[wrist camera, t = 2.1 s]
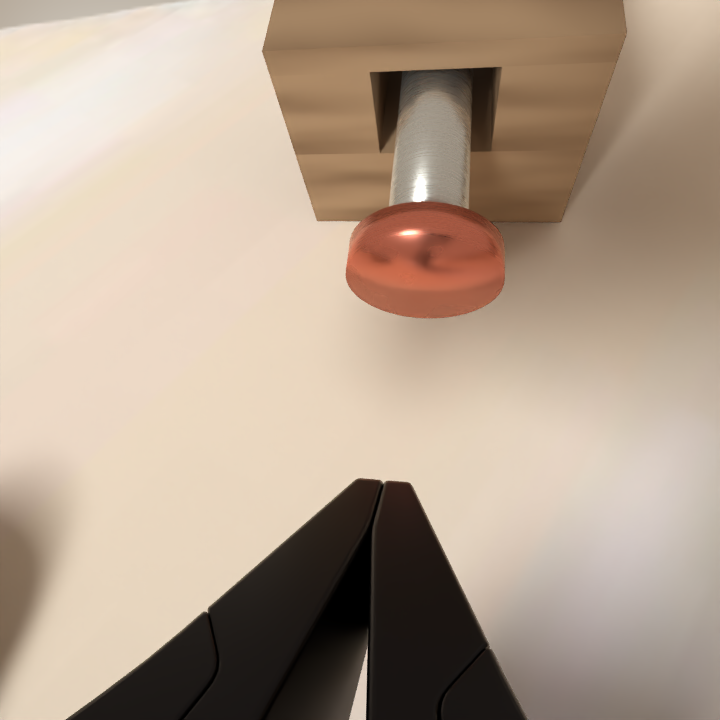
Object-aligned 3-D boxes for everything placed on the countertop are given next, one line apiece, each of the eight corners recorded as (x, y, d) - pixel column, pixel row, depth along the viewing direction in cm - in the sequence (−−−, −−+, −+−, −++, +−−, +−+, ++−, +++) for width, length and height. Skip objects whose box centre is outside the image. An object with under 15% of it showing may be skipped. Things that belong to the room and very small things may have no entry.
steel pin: (495, 320, 19) (515, 236, 15) (356, 315, 20) (332, 234, 16) (497, 24, 25) (512, -104, 21) (390, 30, 26) (381, -92, 22)
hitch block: (560, 221, 25) (626, 33, 17) (317, 220, 27) (262, 51, 18) (554, 98, 28) (608, -116, 20) (335, 105, 30) (295, -87, 21)
